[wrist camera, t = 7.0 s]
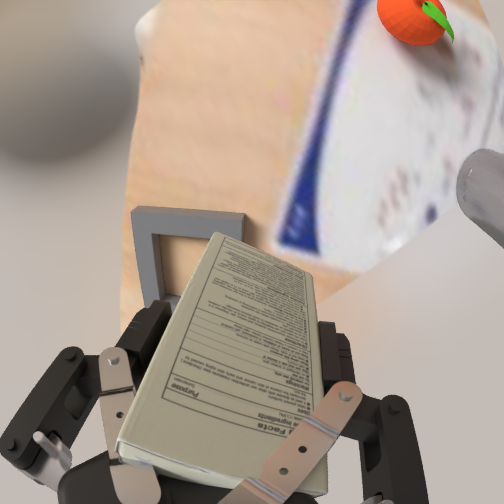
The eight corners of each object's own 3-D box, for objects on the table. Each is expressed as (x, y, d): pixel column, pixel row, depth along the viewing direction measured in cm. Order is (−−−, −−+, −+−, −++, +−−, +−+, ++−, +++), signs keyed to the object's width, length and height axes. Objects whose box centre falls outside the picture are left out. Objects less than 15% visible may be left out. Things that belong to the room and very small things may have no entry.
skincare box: (191, 284, 18) (102, 467, 7) (215, 226, 16) (102, 432, 5) (284, 326, 19) (264, 517, 8) (319, 275, 17) (332, 498, 6)
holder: (244, 213, 33) (241, 220, 31) (240, 319, 40) (238, 328, 38) (138, 205, 34) (130, 211, 32) (151, 305, 41) (146, 314, 39)
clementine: (445, 30, 19) (478, 18, 13) (419, 69, 22) (451, 63, 16) (387, -16, 18) (408, -41, 12) (357, 22, 21) (375, 0, 15)
